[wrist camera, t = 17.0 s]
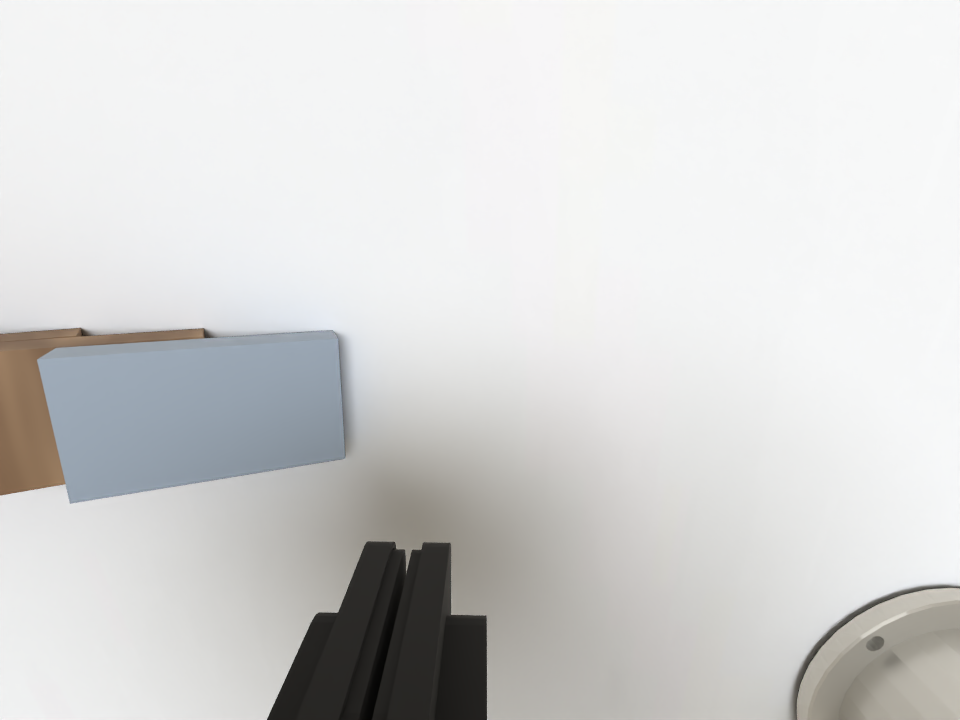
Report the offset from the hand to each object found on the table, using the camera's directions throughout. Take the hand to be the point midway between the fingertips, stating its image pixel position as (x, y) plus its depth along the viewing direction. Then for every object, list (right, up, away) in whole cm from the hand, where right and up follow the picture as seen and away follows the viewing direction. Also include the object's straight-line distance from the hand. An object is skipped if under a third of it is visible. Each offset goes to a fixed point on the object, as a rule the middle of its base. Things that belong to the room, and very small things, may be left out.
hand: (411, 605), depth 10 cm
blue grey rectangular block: (-4, +4, +10) cm, 12 cm away
